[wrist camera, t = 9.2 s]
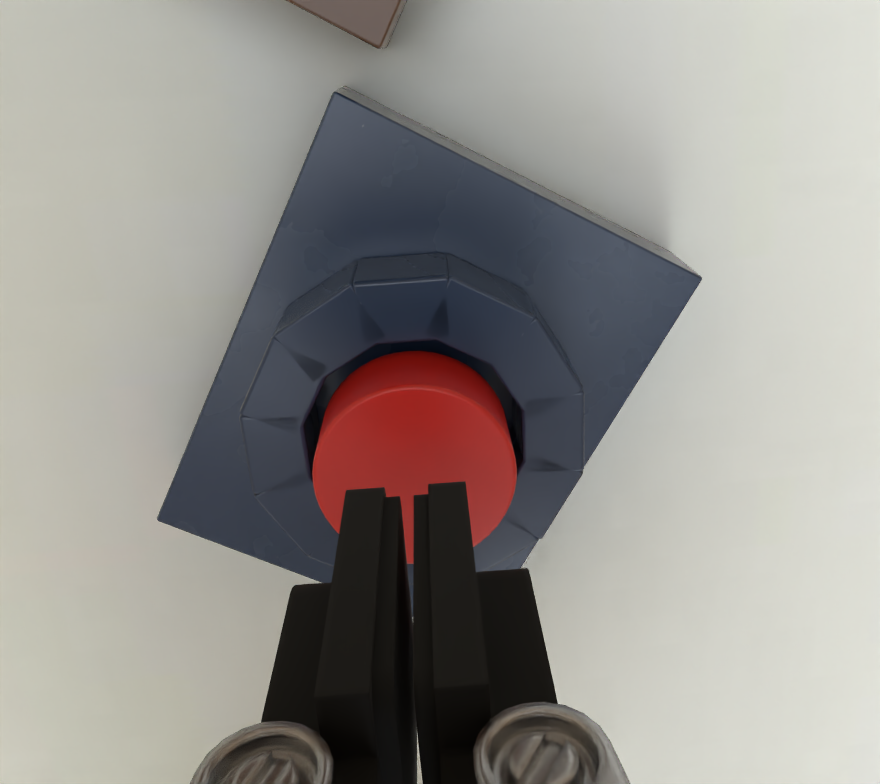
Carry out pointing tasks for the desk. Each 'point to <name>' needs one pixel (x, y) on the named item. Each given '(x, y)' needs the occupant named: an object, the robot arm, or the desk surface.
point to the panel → (358, 17)
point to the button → (416, 439)
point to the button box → (420, 330)
